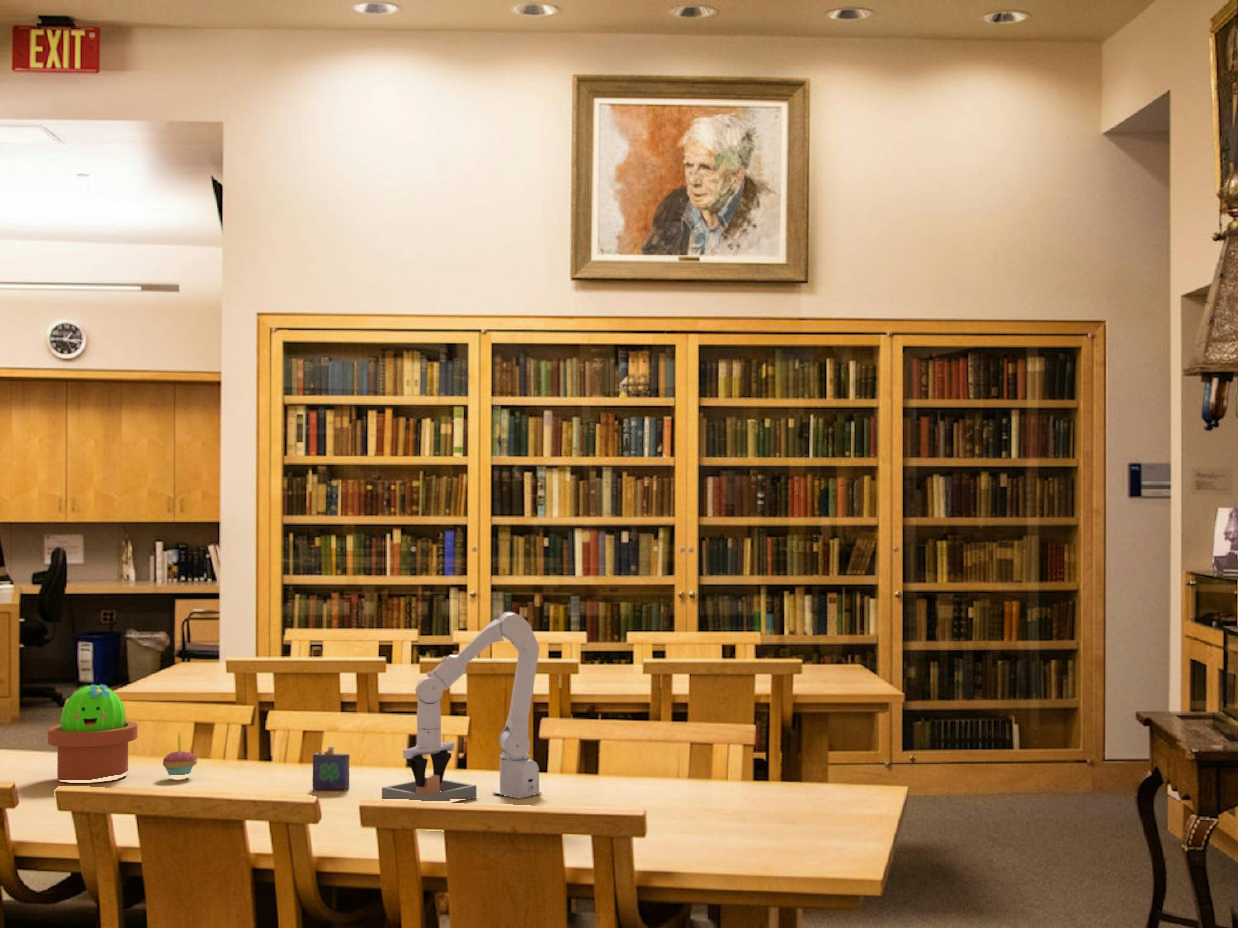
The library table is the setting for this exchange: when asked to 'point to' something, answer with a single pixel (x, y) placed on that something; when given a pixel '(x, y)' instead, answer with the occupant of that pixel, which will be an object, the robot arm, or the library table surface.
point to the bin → (447, 792)
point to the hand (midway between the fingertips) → (429, 784)
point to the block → (430, 785)
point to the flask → (330, 771)
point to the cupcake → (179, 761)
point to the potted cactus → (92, 735)
